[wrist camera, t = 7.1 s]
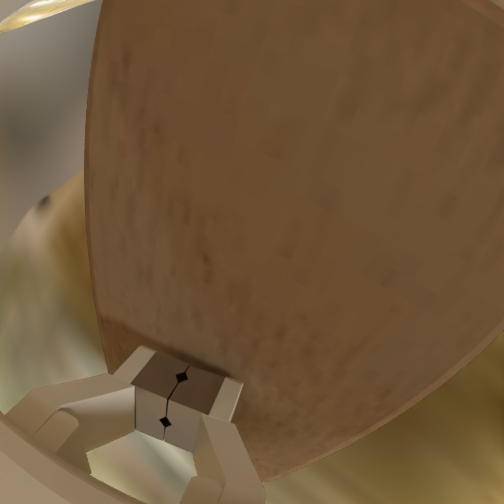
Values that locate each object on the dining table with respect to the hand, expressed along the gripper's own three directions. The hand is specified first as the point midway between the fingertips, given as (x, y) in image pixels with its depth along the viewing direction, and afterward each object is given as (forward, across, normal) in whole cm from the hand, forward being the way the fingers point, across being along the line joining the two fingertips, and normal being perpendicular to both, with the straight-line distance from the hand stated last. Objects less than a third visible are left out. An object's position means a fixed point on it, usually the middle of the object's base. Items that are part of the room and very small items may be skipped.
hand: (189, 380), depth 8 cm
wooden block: (+8, 0, +7) cm, 11 cm away
